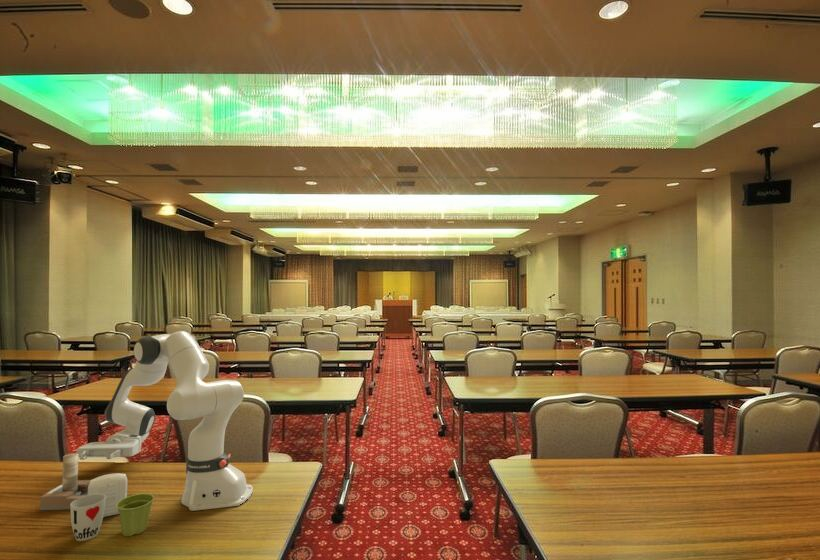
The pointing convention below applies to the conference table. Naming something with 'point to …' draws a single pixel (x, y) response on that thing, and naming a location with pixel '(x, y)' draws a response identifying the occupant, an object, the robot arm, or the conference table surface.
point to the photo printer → (110, 490)
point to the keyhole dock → (62, 497)
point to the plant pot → (134, 513)
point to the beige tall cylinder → (70, 474)
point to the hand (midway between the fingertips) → (95, 457)
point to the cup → (87, 516)
